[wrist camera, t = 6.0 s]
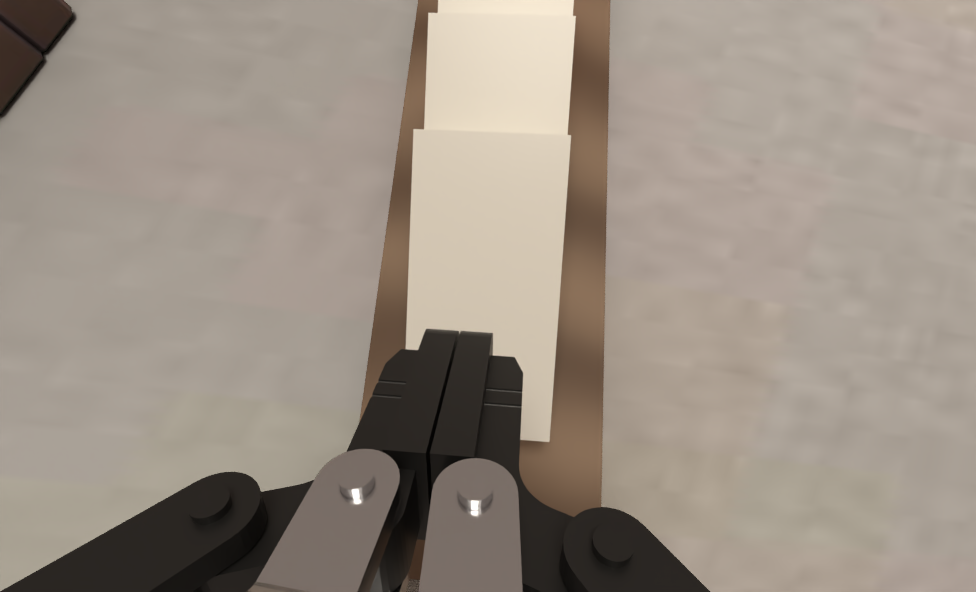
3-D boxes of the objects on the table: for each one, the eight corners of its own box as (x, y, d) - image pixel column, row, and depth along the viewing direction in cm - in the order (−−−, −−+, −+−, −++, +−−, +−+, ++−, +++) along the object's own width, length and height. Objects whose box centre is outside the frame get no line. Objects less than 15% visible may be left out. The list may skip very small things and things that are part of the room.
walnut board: (593, 586, 18) (599, 598, 16) (349, 562, 18) (338, 571, 17) (606, -32, 25) (611, -55, 23) (430, -35, 25) (426, -57, 24)
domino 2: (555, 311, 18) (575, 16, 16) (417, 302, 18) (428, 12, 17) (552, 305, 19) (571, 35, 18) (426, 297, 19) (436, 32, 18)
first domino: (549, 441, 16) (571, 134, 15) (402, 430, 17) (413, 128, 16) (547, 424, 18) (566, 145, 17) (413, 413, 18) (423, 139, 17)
